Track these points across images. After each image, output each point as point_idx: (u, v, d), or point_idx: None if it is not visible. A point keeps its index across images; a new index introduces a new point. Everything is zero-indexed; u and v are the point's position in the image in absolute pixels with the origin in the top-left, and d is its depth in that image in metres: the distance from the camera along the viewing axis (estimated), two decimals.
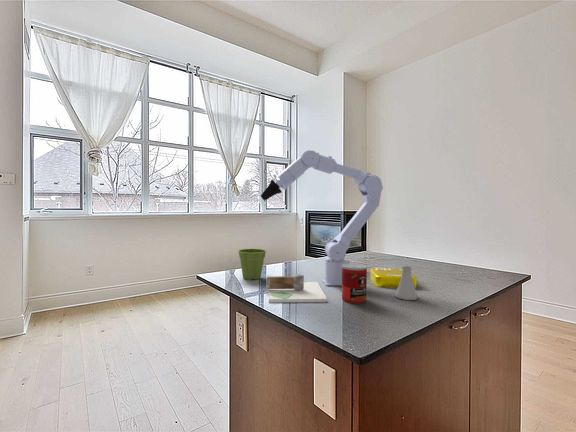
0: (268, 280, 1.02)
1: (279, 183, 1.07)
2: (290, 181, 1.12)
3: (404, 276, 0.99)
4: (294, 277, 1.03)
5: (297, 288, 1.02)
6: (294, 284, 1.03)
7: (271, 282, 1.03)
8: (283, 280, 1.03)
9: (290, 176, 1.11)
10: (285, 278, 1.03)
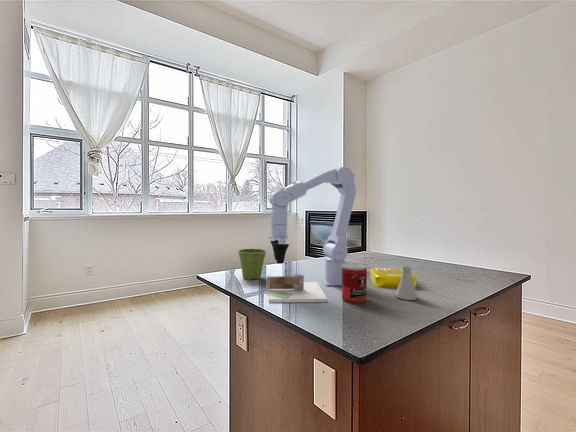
0: (268, 280, 1.02)
1: (281, 242, 1.03)
2: (285, 229, 1.08)
3: (404, 276, 0.99)
4: (294, 277, 1.03)
5: (297, 288, 1.02)
6: (294, 284, 1.03)
7: (271, 282, 1.03)
8: (283, 280, 1.03)
9: (281, 226, 1.07)
10: (285, 278, 1.03)
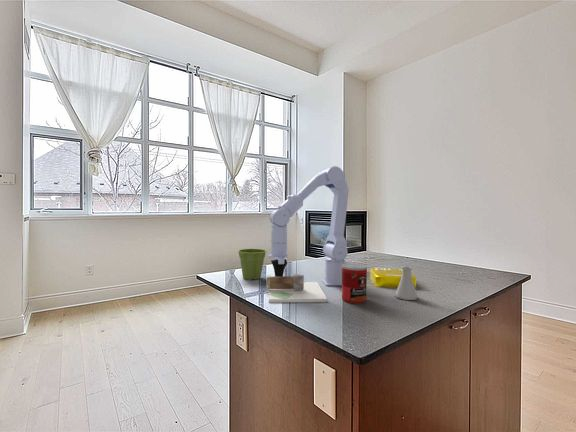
0: (268, 280, 1.02)
1: (281, 262, 1.03)
2: (285, 248, 1.08)
3: (404, 276, 0.99)
4: (294, 277, 1.03)
5: (297, 288, 1.02)
6: (294, 284, 1.03)
7: (271, 282, 1.03)
8: (283, 280, 1.03)
9: (281, 245, 1.07)
10: (285, 278, 1.03)
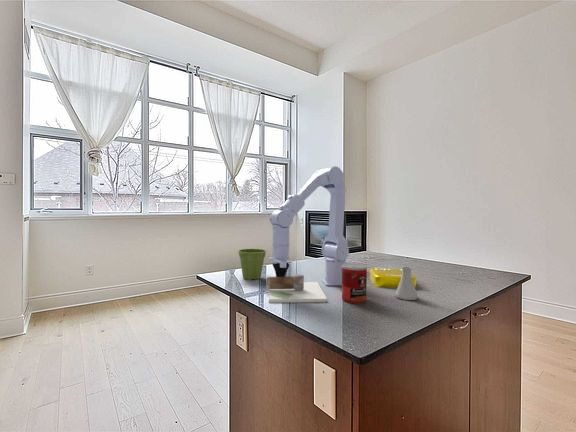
0: (268, 280, 1.02)
1: (283, 265, 0.97)
2: (287, 250, 1.03)
3: (404, 276, 0.99)
4: (294, 277, 1.03)
5: (297, 288, 1.02)
6: (294, 284, 1.03)
7: (271, 282, 1.02)
8: (283, 280, 1.03)
9: (283, 247, 1.02)
10: (285, 278, 1.03)
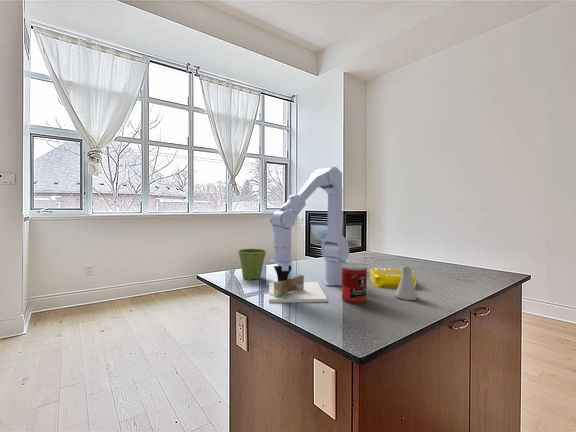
0: (279, 286, 0.96)
1: (285, 268, 0.93)
2: (289, 253, 0.99)
3: (404, 276, 0.99)
4: (297, 278, 1.02)
5: (301, 287, 1.02)
6: (298, 285, 1.02)
7: (281, 287, 0.97)
8: (289, 283, 1.00)
9: (285, 250, 0.98)
10: (291, 280, 1.00)
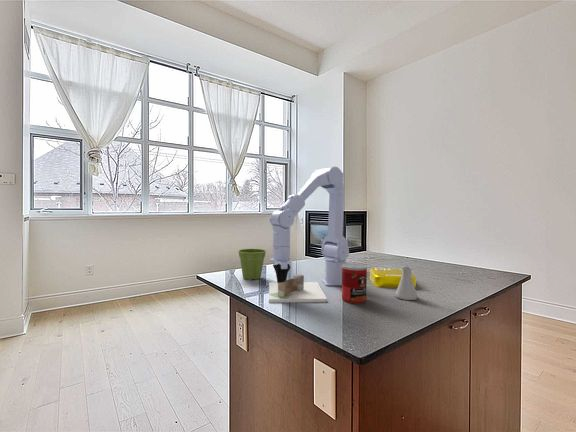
0: (284, 286, 0.95)
1: (284, 266, 0.96)
2: (288, 251, 1.01)
3: (404, 276, 0.99)
4: (298, 278, 1.02)
5: (302, 287, 1.02)
6: (299, 285, 1.02)
7: (285, 288, 0.96)
8: (291, 283, 0.99)
9: (284, 248, 1.00)
10: (293, 281, 1.00)
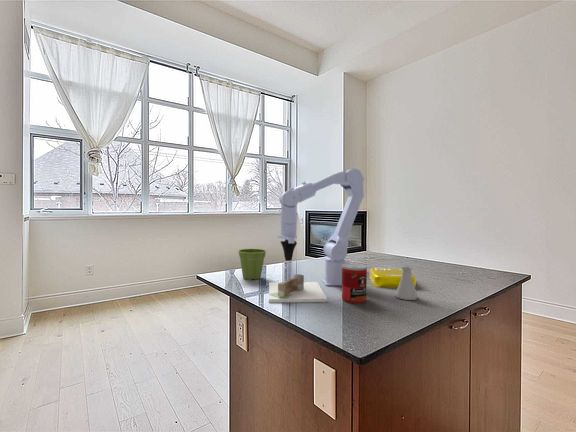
0: (284, 286, 0.95)
1: (291, 241, 1.05)
2: (294, 228, 1.10)
3: (404, 276, 0.99)
4: (298, 278, 1.02)
5: (302, 287, 1.02)
6: (299, 285, 1.02)
7: (285, 288, 0.96)
8: (291, 283, 0.99)
9: (291, 225, 1.09)
10: (293, 281, 1.00)
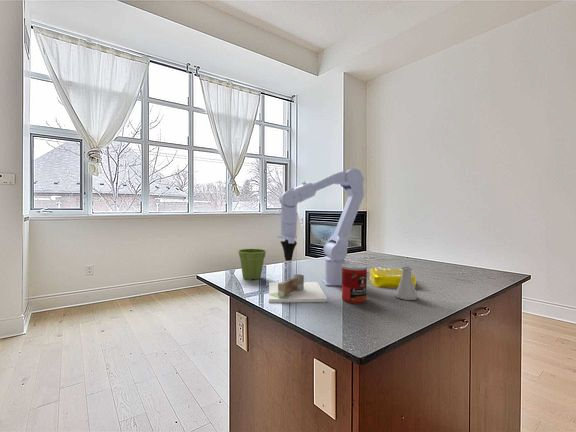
0: (284, 286, 0.95)
1: (291, 241, 1.05)
2: (294, 228, 1.10)
3: (404, 276, 0.99)
4: (298, 278, 1.02)
5: (302, 287, 1.02)
6: (299, 285, 1.02)
7: (285, 288, 0.96)
8: (291, 283, 0.99)
9: (291, 225, 1.09)
10: (293, 281, 1.00)
